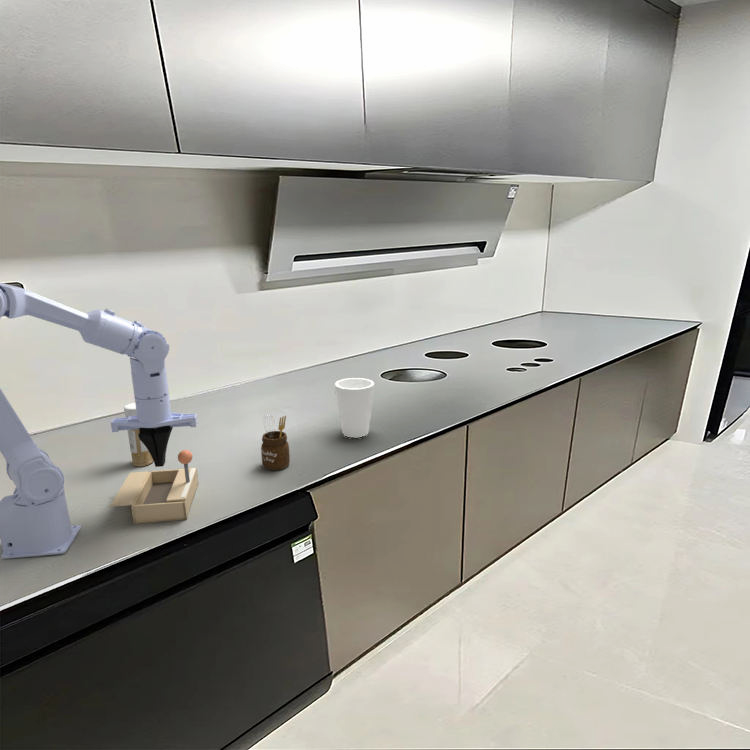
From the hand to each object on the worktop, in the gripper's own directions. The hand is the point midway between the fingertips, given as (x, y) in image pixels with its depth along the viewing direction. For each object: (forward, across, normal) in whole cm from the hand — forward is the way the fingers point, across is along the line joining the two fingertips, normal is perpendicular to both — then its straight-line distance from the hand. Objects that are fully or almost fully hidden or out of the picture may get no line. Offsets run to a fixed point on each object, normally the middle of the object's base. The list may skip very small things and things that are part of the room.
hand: (160, 464), depth 103 cm
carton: (+8, +1, 0) cm, 8 cm away
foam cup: (+8, -40, -28) cm, 49 cm away
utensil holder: (+8, -21, -13) cm, 26 cm away
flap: (+4, -4, 0) cm, 6 cm away
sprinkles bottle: (+8, +8, -19) cm, 22 cm away
